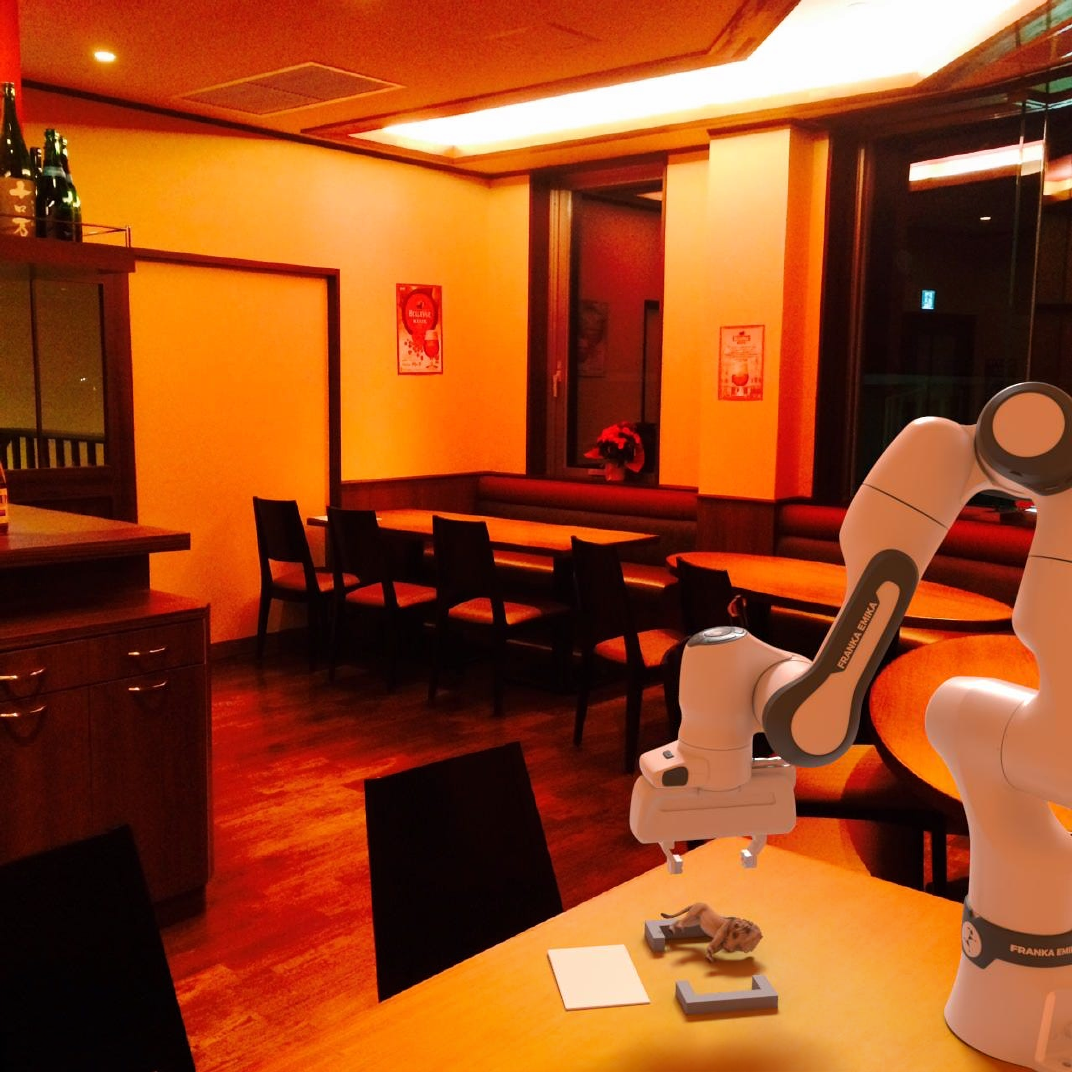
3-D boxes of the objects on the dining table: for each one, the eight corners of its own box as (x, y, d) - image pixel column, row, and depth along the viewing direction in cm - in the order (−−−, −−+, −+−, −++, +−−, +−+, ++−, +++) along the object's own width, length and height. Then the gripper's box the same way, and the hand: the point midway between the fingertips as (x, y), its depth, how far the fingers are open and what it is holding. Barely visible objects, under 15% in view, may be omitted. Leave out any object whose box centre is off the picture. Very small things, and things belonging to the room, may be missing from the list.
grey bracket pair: (724, 929, 143) (724, 915, 143) (777, 1011, 124) (778, 995, 124) (644, 935, 141) (644, 920, 141) (686, 1019, 123) (686, 1002, 122)
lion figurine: (730, 983, 133) (767, 943, 137) (730, 966, 131) (767, 925, 134) (659, 924, 141) (695, 887, 144) (656, 907, 138) (693, 869, 141)
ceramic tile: (624, 948, 138) (624, 944, 138) (649, 1006, 125) (650, 1001, 125) (547, 954, 136) (547, 949, 136) (565, 1013, 124) (566, 1008, 124)
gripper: (786, 747, 134) (782, 852, 136) (627, 756, 130) (625, 863, 132) (806, 765, 127) (802, 874, 129) (640, 775, 124) (638, 887, 126)
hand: (711, 869), depth 131 cm, fingers open, 8 cm apart
